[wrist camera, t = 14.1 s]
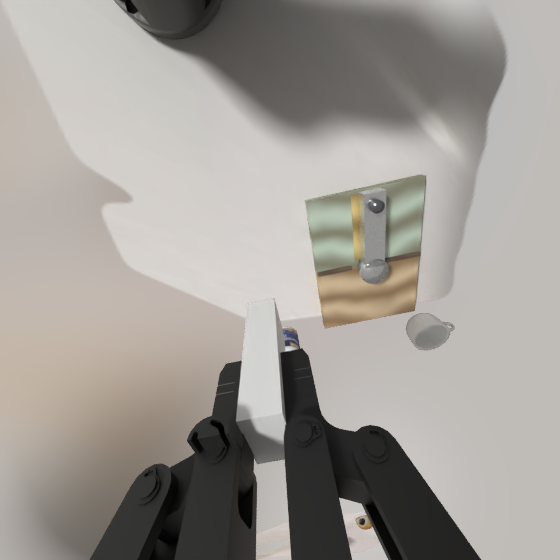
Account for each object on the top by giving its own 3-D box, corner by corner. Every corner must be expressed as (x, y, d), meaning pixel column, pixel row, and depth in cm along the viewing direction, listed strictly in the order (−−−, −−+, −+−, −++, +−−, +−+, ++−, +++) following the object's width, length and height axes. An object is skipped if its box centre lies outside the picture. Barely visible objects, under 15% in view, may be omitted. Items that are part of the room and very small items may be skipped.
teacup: (400, 337, 59) (412, 353, 55) (401, 312, 56) (414, 327, 51) (441, 329, 59) (457, 345, 54) (445, 303, 55) (463, 318, 51)
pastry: (375, 519, 115) (378, 530, 111) (362, 523, 116) (364, 534, 113) (366, 513, 111) (369, 525, 107) (353, 517, 112) (356, 529, 109)
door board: (304, 200, 42) (306, 203, 40) (420, 174, 42) (428, 176, 40) (323, 323, 56) (325, 330, 54) (410, 306, 55) (416, 312, 53)
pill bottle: (299, 326, 56) (305, 358, 47) (295, 344, 58) (300, 377, 50) (275, 325, 55) (277, 357, 47) (273, 342, 58) (274, 376, 49)
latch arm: (382, 274, 48) (391, 284, 44) (357, 279, 48) (363, 289, 44) (384, 186, 40) (395, 190, 36) (353, 192, 40) (361, 197, 37)
